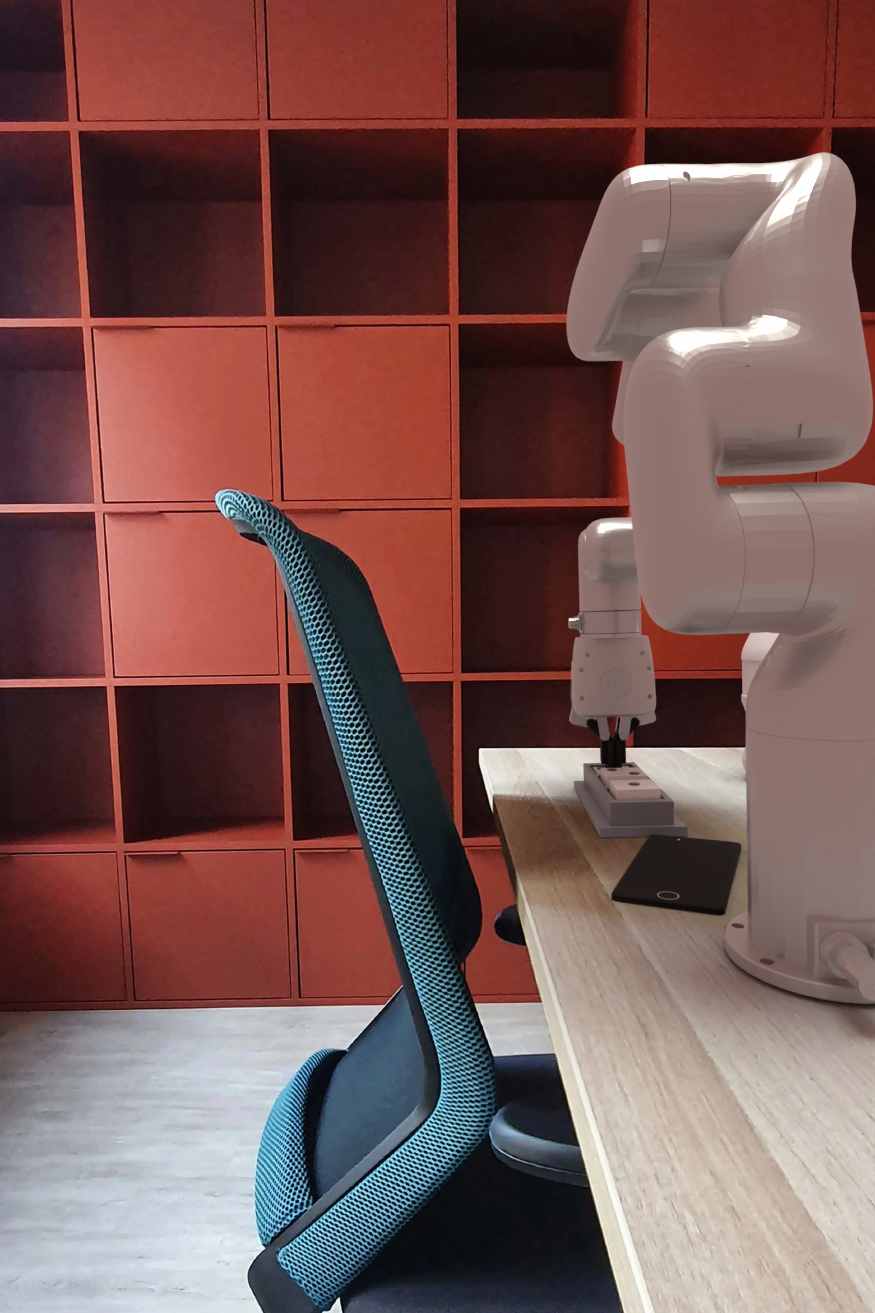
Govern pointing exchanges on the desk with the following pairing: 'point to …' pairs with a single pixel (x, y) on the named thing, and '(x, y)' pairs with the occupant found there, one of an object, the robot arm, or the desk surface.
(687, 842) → the cell phone
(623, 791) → the tile one
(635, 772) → the tile two
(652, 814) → the tile tray
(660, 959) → the desk surface
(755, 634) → the water bottle
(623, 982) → the desk surface
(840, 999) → the robot arm
